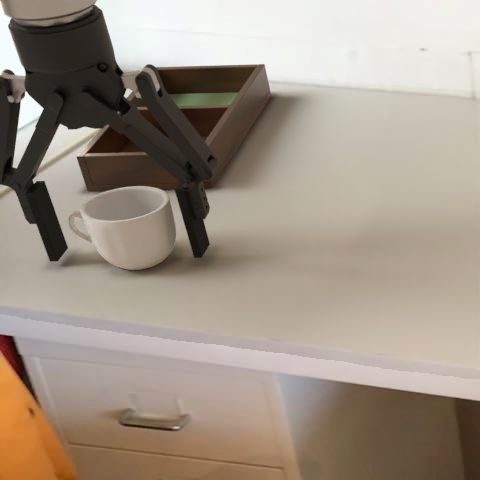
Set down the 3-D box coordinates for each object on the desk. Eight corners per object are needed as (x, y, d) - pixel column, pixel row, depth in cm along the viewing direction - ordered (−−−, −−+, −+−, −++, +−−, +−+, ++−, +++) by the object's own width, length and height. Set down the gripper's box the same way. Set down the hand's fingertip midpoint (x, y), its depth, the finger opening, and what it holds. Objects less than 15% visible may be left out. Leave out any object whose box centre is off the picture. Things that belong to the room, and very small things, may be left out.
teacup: (197, 241, 123) (182, 186, 119) (165, 279, 117) (148, 223, 114) (99, 238, 124) (81, 184, 121) (62, 276, 119) (42, 220, 115)
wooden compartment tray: (87, 191, 133) (75, 156, 130) (161, 98, 152) (152, 66, 149) (212, 188, 132) (203, 153, 130) (271, 95, 151) (264, 63, 148)
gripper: (214, -9, 108) (271, 231, 123) (-75, 2, 110) (15, 238, 124) (189, 21, 103) (252, 268, 117) (-115, 32, 104) (-17, 275, 118)
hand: (130, 253), depth 120 cm, fingers open, 13 cm apart
